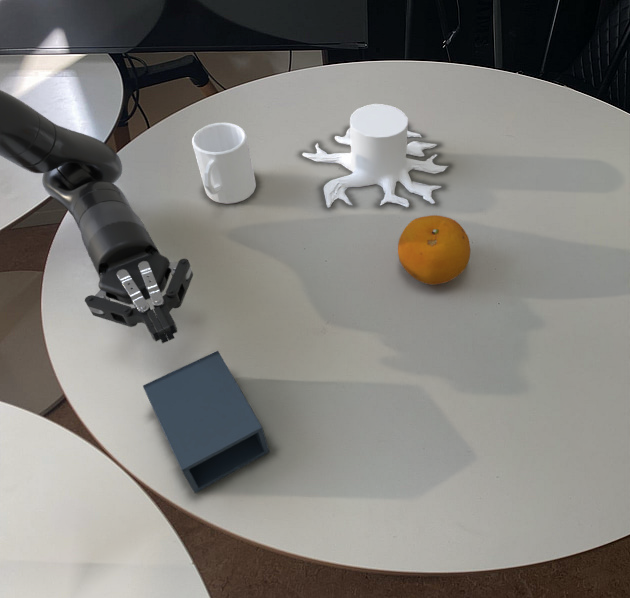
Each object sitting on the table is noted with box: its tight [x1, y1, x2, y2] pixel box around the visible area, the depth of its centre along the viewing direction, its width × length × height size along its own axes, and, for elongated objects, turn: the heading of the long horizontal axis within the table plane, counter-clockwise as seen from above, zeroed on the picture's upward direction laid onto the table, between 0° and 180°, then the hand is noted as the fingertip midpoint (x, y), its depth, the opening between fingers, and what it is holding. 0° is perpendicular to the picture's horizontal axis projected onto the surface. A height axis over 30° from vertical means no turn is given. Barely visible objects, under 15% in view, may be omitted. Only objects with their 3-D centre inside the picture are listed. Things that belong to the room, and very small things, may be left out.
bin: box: [142, 350, 270, 494], centre depth 68 cm, size 6×9×12 cm
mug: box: [191, 122, 257, 205], centre depth 94 cm, size 8×12×10 cm
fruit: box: [397, 214, 471, 286], centre depth 86 cm, size 10×10×8 cm
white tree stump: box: [302, 103, 449, 209], centre depth 100 cm, size 23×25×9 cm
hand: (167, 336), depth 68 cm, fingers closed
